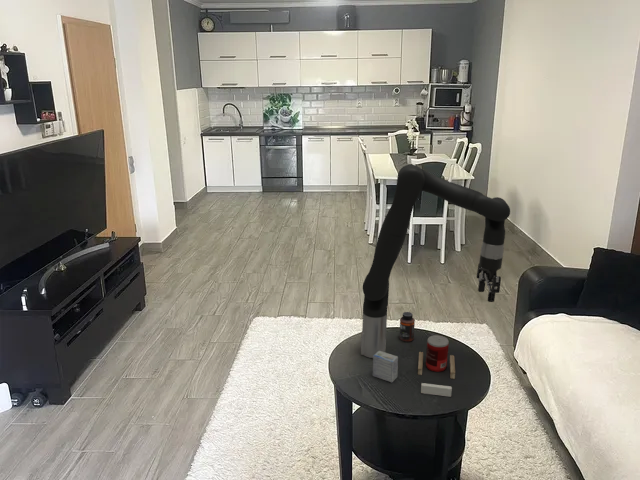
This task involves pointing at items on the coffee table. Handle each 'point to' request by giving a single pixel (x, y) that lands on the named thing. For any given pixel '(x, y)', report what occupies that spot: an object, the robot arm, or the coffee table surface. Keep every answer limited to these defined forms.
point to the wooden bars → (452, 365)
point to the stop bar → (436, 389)
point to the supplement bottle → (407, 327)
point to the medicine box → (385, 366)
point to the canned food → (437, 353)
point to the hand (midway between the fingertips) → (485, 296)
